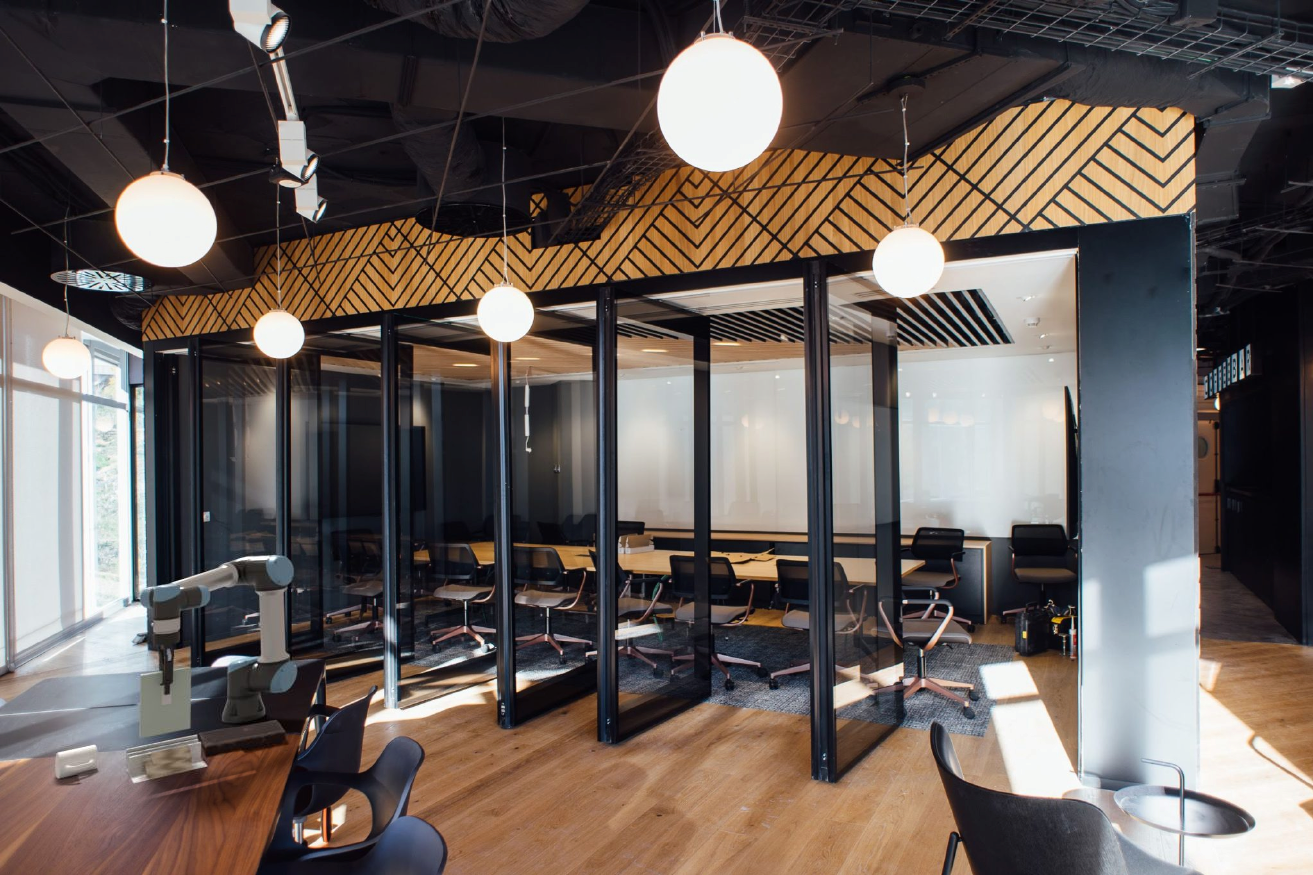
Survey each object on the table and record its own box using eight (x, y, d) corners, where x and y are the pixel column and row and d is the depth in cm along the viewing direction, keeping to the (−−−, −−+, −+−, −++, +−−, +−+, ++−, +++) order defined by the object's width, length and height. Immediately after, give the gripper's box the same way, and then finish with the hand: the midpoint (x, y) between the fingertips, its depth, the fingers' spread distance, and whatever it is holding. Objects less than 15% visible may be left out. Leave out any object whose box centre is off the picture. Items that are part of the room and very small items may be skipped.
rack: (196, 755, 259) (196, 734, 260) (207, 769, 246) (207, 747, 246) (125, 770, 246) (126, 748, 247) (133, 786, 233) (133, 763, 233)
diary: (285, 744, 270) (285, 730, 271) (204, 761, 255) (205, 746, 256) (275, 731, 285) (275, 717, 285) (198, 746, 270) (198, 732, 270)
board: (188, 726, 256) (189, 666, 257) (190, 728, 254) (191, 667, 255) (139, 736, 247) (140, 674, 248) (140, 738, 245) (141, 675, 246)
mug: (54, 775, 244) (55, 750, 245) (92, 766, 251) (93, 742, 252) (61, 784, 236) (62, 758, 236) (100, 775, 243) (101, 750, 243)
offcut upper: (187, 754, 249) (187, 744, 249) (190, 758, 245) (190, 748, 245) (151, 762, 242) (151, 752, 243) (153, 766, 239) (153, 756, 239)
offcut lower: (188, 762, 249) (188, 753, 250) (191, 766, 246) (191, 757, 246) (145, 772, 241) (145, 763, 242) (147, 776, 238) (147, 767, 238)
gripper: (149, 630, 256) (148, 701, 254) (157, 636, 244) (155, 710, 243) (175, 627, 261) (174, 696, 259) (184, 632, 249) (183, 705, 248)
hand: (165, 703), depth 251 cm, fingers closed on board, 2 cm apart
